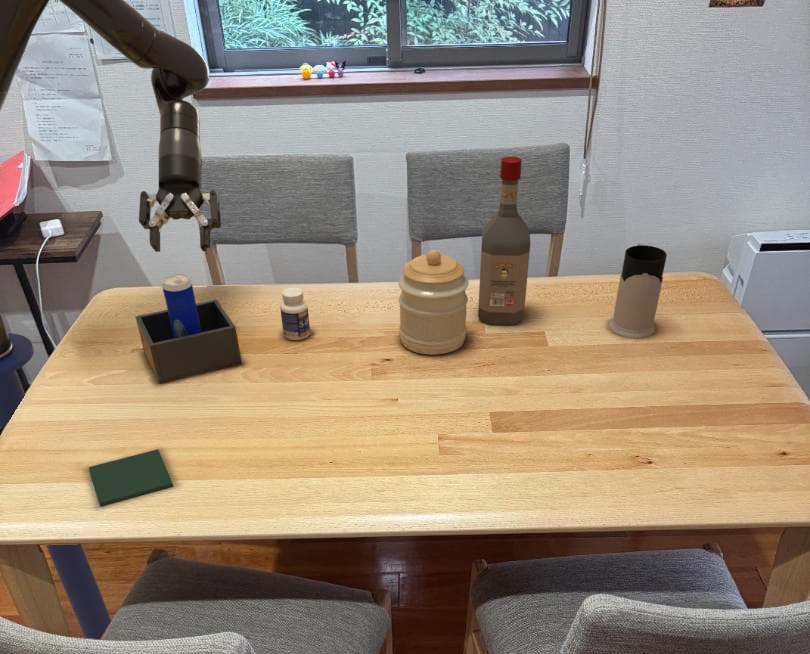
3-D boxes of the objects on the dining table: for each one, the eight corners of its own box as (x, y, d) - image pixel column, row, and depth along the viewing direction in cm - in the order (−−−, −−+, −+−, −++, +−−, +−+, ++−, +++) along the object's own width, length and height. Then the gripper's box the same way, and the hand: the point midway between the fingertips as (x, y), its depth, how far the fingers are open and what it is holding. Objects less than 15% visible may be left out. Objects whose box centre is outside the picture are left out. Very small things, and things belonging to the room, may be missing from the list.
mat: (100, 506, 121) (99, 503, 120) (89, 470, 128) (88, 467, 127) (173, 486, 124) (172, 483, 124) (158, 451, 131) (158, 448, 131)
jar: (475, 330, 160) (479, 242, 148) (452, 361, 151) (455, 270, 139) (414, 319, 164) (413, 232, 152) (389, 349, 155) (386, 259, 143)
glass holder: (610, 336, 157) (623, 261, 147) (606, 304, 168) (618, 232, 158) (656, 339, 156) (672, 263, 146) (649, 306, 167) (664, 233, 157)
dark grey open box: (158, 383, 147) (149, 345, 142) (144, 352, 155) (135, 316, 150) (241, 364, 152) (235, 326, 146) (223, 335, 160) (216, 299, 155)
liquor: (523, 326, 161) (537, 168, 141) (477, 325, 162) (485, 167, 142) (522, 305, 168) (536, 152, 148) (478, 304, 169) (486, 151, 148)
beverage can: (172, 356, 153) (155, 280, 143) (195, 346, 156) (179, 271, 146) (188, 365, 150) (172, 288, 140) (211, 354, 153) (196, 279, 143)
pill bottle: (305, 342, 157) (300, 299, 152) (279, 339, 158) (274, 296, 153) (313, 329, 161) (309, 287, 155) (289, 327, 162) (284, 284, 156)
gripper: (134, 152, 143) (133, 241, 142) (214, 151, 143) (214, 240, 142) (147, 173, 151) (147, 258, 150) (223, 172, 151) (224, 257, 150)
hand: (180, 249), depth 146 cm, fingers open, 8 cm apart
